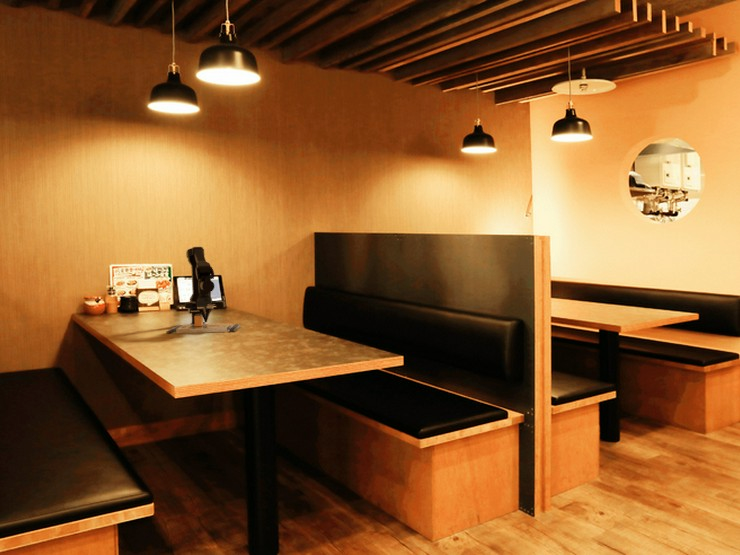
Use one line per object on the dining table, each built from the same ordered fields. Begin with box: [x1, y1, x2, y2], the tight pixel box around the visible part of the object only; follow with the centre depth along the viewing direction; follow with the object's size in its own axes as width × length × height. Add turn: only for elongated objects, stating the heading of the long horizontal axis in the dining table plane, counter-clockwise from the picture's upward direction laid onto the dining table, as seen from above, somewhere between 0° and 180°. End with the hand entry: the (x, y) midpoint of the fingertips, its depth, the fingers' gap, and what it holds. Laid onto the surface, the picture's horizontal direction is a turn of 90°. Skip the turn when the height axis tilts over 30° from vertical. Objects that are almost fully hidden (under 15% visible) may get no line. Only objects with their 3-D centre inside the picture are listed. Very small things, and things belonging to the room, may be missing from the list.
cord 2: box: [228, 323, 242, 333], centre depth 309 cm, size 18×3×2 cm, turn 2°
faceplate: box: [175, 322, 234, 334], centre depth 308 cm, size 15×24×2 cm, turn 92°
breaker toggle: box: [194, 314, 204, 326], centre depth 308 cm, size 4×3×6 cm
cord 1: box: [165, 324, 182, 335], centre depth 308 cm, size 18×3×2 cm, turn 2°
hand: (206, 322), depth 308 cm, fingers closed
